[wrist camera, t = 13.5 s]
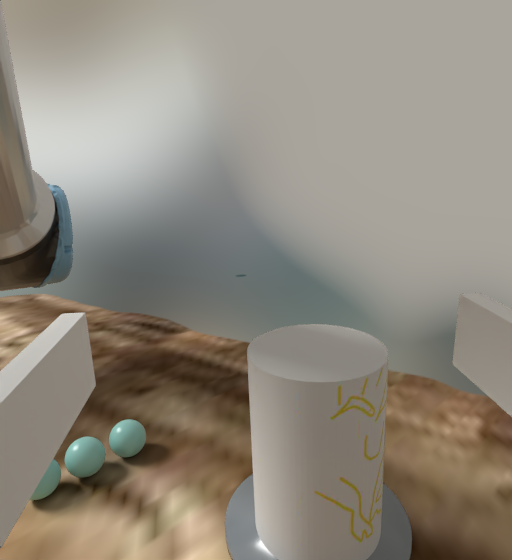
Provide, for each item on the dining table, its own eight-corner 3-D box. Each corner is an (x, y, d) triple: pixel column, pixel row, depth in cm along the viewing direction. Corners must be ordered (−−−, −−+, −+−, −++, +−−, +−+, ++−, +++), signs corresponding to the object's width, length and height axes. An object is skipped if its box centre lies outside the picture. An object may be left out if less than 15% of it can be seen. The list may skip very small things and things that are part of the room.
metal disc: (194, 508, 30) (193, 500, 30) (322, 444, 36) (322, 438, 36) (303, 666, 20) (303, 656, 20) (452, 541, 26) (453, 533, 26)
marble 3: (17, 490, 32) (10, 457, 31) (60, 474, 34) (54, 442, 33) (21, 516, 30) (13, 480, 29) (67, 497, 31) (60, 462, 31)
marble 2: (64, 470, 34) (58, 437, 34) (102, 455, 36) (97, 424, 35) (71, 492, 32) (65, 457, 31) (112, 475, 33) (107, 442, 33)
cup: (354, 600, 22) (358, 397, 19) (230, 534, 27) (218, 361, 24) (396, 500, 29) (404, 337, 26) (291, 460, 33) (288, 317, 30)
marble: (107, 451, 36) (102, 420, 36) (141, 438, 38) (137, 408, 37) (117, 470, 34) (112, 437, 33) (152, 455, 36) (149, 424, 35)
